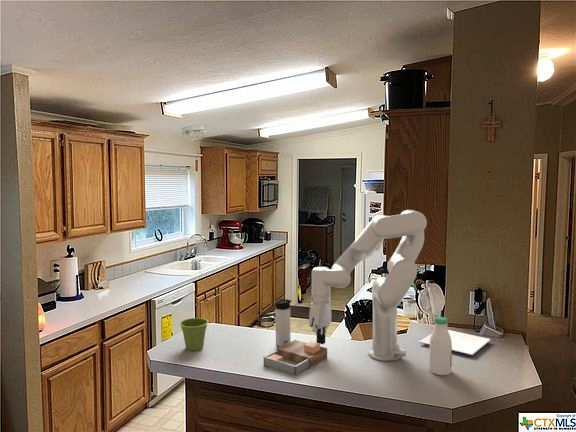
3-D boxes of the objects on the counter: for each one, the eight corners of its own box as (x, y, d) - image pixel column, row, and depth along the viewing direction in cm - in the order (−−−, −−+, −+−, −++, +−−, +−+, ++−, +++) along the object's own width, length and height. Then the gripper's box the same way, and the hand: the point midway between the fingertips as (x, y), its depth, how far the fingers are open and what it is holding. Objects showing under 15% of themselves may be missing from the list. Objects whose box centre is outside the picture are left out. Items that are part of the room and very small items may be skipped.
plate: (490, 343, 191) (491, 338, 191) (472, 359, 175) (472, 354, 174) (440, 332, 206) (440, 327, 206) (418, 345, 189) (418, 341, 189)
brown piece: (327, 358, 176) (327, 348, 176) (310, 368, 167) (310, 358, 167) (294, 349, 186) (294, 339, 186) (276, 358, 177) (276, 348, 176)
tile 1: (275, 360, 167) (275, 366, 167) (283, 356, 170) (283, 362, 171) (266, 357, 170) (266, 363, 170) (274, 353, 173) (274, 360, 173)
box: (309, 368, 167) (309, 359, 167) (295, 376, 160) (295, 366, 160) (277, 358, 176) (277, 350, 176) (263, 365, 170) (263, 356, 169)
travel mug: (289, 349, 186) (289, 302, 184) (274, 348, 187) (273, 301, 186) (292, 343, 192) (292, 298, 191) (277, 342, 193) (277, 297, 192)
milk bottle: (448, 377, 158) (449, 322, 156) (426, 373, 162) (427, 319, 161) (453, 369, 165) (454, 317, 163) (432, 365, 169) (433, 313, 167)
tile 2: (320, 350, 174) (320, 343, 174) (313, 353, 171) (313, 347, 171) (310, 347, 177) (310, 341, 177) (304, 351, 173) (304, 344, 173)
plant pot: (174, 351, 185) (173, 324, 184) (190, 341, 196) (189, 316, 195) (199, 355, 181) (198, 328, 180) (214, 345, 192) (213, 319, 191)
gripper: (323, 293, 186) (323, 336, 187) (302, 300, 174) (302, 346, 175) (338, 295, 181) (338, 339, 183) (318, 304, 169) (318, 350, 171)
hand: (320, 343), depth 179 cm, fingers closed
